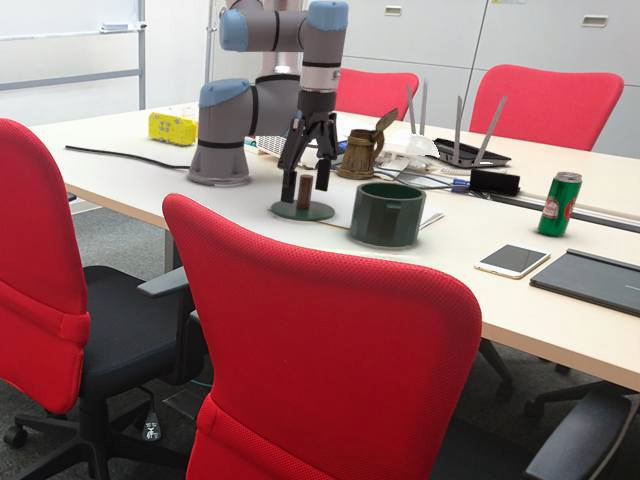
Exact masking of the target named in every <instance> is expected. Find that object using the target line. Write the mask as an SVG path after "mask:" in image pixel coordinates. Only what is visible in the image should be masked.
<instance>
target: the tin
mask: <svg viewBox="0 0 640 480" xmlns="http://www.w3.org/2000/svg"><path fill="white" fill-rule="evenodd" d="M427 196H428V195H427V192H426V191H424V190H423V189H422V188H419V187H416V186H413V185H409V184H403V183H398V182H389V181H388V182H387V181H371V182H370V181H369V182H365V183H360V184H359V185H357V186H356V190H355V195H354V201H353V207H352V213H351V219H350V225H349V232H348V233H349V236H350V237H351V238H353V239H354V240H355V241H358V242H361V243H363V244H367V245H370V246H375V247H382V248H383V247H384V248H385V247H386V248H403V247H408V246H412V245H414V244H416V242H417V240H418V236H419V231H420V227H421V222H422V218H423V214H424V209H425V205H426V200H427Z"/></svg>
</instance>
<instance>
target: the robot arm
mask: <svg viewBox="0 0 640 480" xmlns="http://www.w3.org/2000/svg"><path fill="white" fill-rule="evenodd" d="M224 2H225V8H226V9H225V10H224V11H222V13H221V15H220V19H219V27H218V37H219V38H218V41H219V45H220V47H221V49H222V50H224V51H226V52H237V53H260V52H261V71H260V72H259V73H258V74H257V75H256V77H255V78H254V84H253V85H252V84H251V83H250V80H249V79H248V78H243V77H238V78H237V77H235V78H234V77H232V78H223V79H217V80H213V81H209V82H206V83H204V85H203V86H202V87H201V88H200V91H199V100H198V104H197V107H198V122H197V123H198V124H197V142H196V143H197V144H196V149H195V152H194V155H193V157H192V160H191V163H190V165H174V164H173V165H172V164H168V163H164V162H162V161H158V160H157V159H153V158H148V157H145V156H140V155H136V154H130V153H124V152H118V151H110V150H103V149H95V148H94V149H93V148H85V147H79V146H73V145H67V144H65V146H64V148H65V149H69V150H74V151H81V152H88V153H95V154H96V153H97V154H103V155H105V154H106V155H113V156H120V157H125V158H132V159H137V160H141V161H145V162H149V163H151V164H156V165H158V166H161V167H165V168H169V169H173V170H188V179H189V180H190V181H192V182H194V183H197V184H200V185H206V186H213V187H214V186H216V185H221V186H229V185H238V184H243V183H246V182H248V181H249V180H250V170H249V164H248V161H247V157H246V151H245V139H246V137H280V138H284V137H286V139H285V142H284V145H283V147H282V150H281V153H280V156H279V158H278V161H277V164H276V168H277V169H279V170H280V171H281V170H282V173H283V174H282V183H281V192H280V193H281V194H280V201H282V202H286V203H290V204H293V203H294V200H295V193H296V186H297V178H298V170H296V169H297V167H298V165H299V163H300V161H301V159H302V157H303V154H304V153H305V151H306V149H307V147H308V145H310V144H311V143H312V142H313V140H315V142H316V145H317V148H318V151H319V154H320V157H321V158H319V159H318V163H317V171H316V180H315V186H314V189H315V191H320V192H328V191H329V190H328V189H329V184H330V183H329V182H330V176H331V168H332V164H333V163H332V162H333V161H337V160H338V156H339V154H340V148H339V147H340V146H339V139H338V131H337V130H338V129H337V128H338V127H337V118H338V113H337V112H335V110H336V104H337V97H338V93H337V91H336V90H337V89H338V88H339V83H340V82H339V81H340V78H341V75H342V74H341V67H342V61H343V55H344V48H345V42H346V34H347V28H348V26H349V9H350V7H349V4H348V3H347V2H346V1H338V0H313V1H311V2H310V3H309V4H308V9H307V10H306V9H305V10H301V6H300V5H301V0H224ZM299 53H302V61H301V69H300V70H299V66H298V65H299Z"/></svg>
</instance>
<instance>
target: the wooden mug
mask: <svg viewBox="0 0 640 480" xmlns="http://www.w3.org/2000/svg"><path fill="white" fill-rule="evenodd" d="M398 118H399V108H398V107H396V108H394V109H391V110H390V111H389V112H386V113H385V114H384V115H383V116H382V117H380V119H379V120H378V121H377V122H376V124H375V127H374V129H372V130H370V129H366V128H354V129H351V130H350V133H349V135H348V136H347V139H346V142H347V143H346V146H345V150H344V153H343V156H342V160H341V163H340V166H339V167H338V171H337V175H338V176H340V177H342V178H347V179H353V180H368V179H372V178H373V177H374V175H375V171H376V170H375V168H374V163H375V161H376V159H377V158H379V155H380V154H381V153H382V151H383V149H384V147H385V133H384V131H385V130H387V128H389V127H390V126H391V125H393V123H394V122H395V121H396V120H397V119H398ZM375 146H376V148H375Z"/></svg>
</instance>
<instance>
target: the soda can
mask: <svg viewBox="0 0 640 480" xmlns="http://www.w3.org/2000/svg"><path fill="white" fill-rule="evenodd" d="M582 178H583V175H582V174H580V173H577V172H571V171H558V172H557V173H556V175H555V176H554V177H553V178H552V181H551V184H550V187H549V191H548V194H547V196H546V200H545V204H544V206H543V209H542V213H541V216H540V219H539V222H538V225H537V228H536V229H537V231H538V233H539V234H541V235H543V236H547V237H554V238H556V237H558V238H559V237H562V236H563V235H565V234H566V232H567V228H568V226H569V222H570V221H571V217H572V214H573V212H574V208H575V205H576V203H577V200H578V197H579V193H580V191H581V188H582V185H583V179H582Z"/></svg>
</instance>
